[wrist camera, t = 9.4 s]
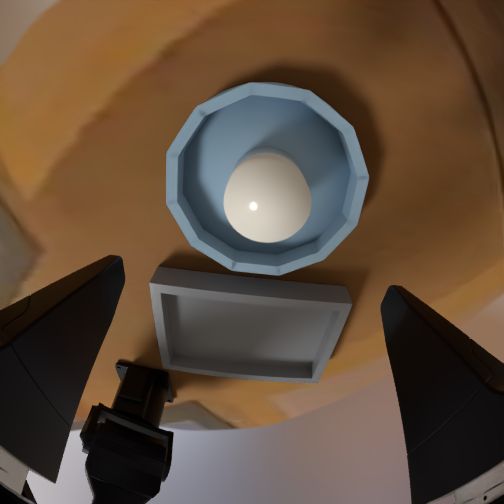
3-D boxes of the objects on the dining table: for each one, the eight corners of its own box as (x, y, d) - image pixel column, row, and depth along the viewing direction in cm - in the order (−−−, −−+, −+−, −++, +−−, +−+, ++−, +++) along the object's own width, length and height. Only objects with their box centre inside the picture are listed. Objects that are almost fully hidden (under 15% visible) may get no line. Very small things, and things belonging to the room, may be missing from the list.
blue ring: (336, 268, 22) (342, 284, 20) (172, 250, 21) (165, 265, 20) (374, 102, 15) (387, 104, 14) (177, 77, 15) (166, 75, 13)
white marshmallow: (295, 216, 19) (302, 246, 16) (228, 209, 19) (220, 238, 15) (306, 151, 17) (318, 167, 13) (234, 142, 17) (226, 156, 13)
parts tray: (315, 366, 28) (317, 383, 26) (167, 351, 27) (162, 368, 26) (346, 286, 23) (352, 304, 21) (157, 266, 22) (149, 282, 20)
